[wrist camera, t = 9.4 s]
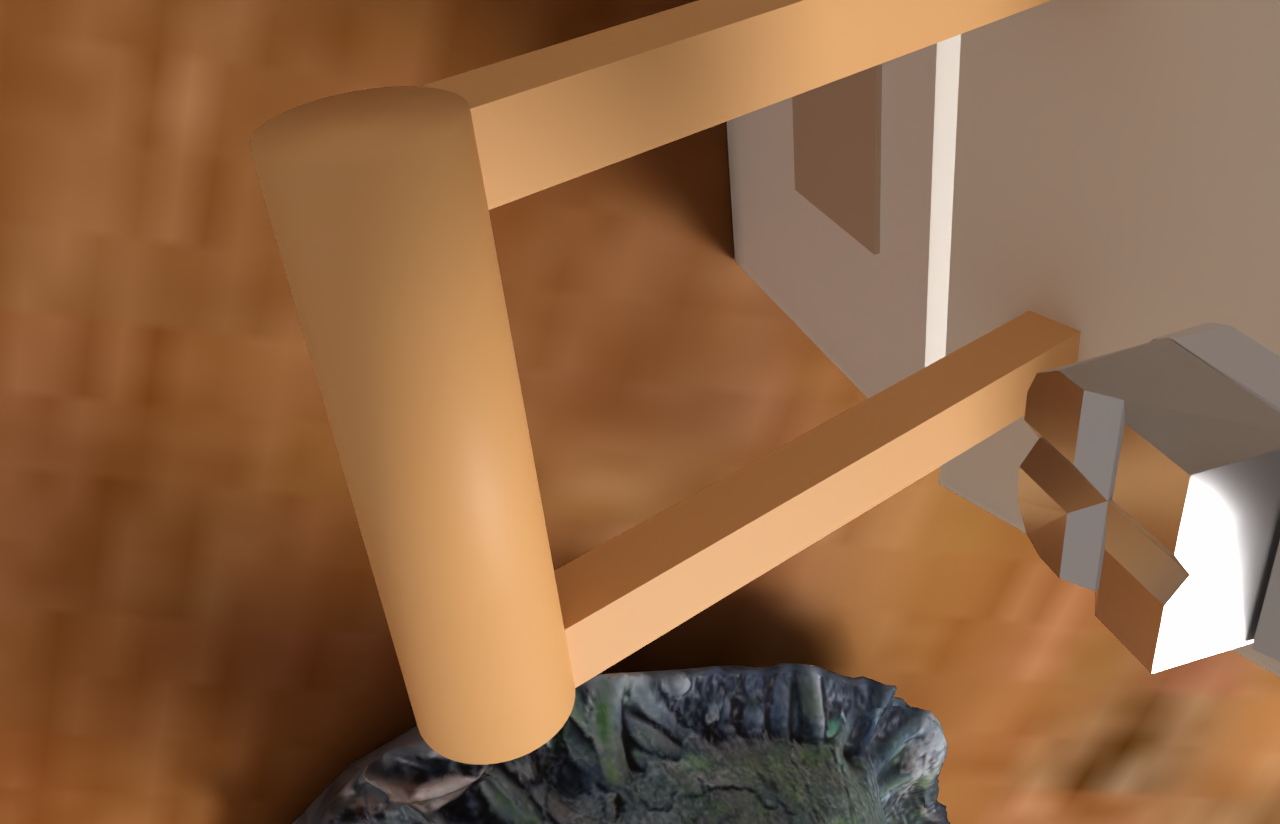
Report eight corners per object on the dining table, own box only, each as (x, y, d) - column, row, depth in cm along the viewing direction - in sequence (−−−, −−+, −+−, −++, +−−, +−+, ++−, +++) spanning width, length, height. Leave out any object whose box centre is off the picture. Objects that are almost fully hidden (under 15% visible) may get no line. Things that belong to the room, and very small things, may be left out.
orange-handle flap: (1750, -505, 8) (528, -348, 4) (1365, 672, 15) (733, 1269, 10) (1033, -423, 13) (44, -304, 8) (973, 463, 19) (403, 816, 14)
